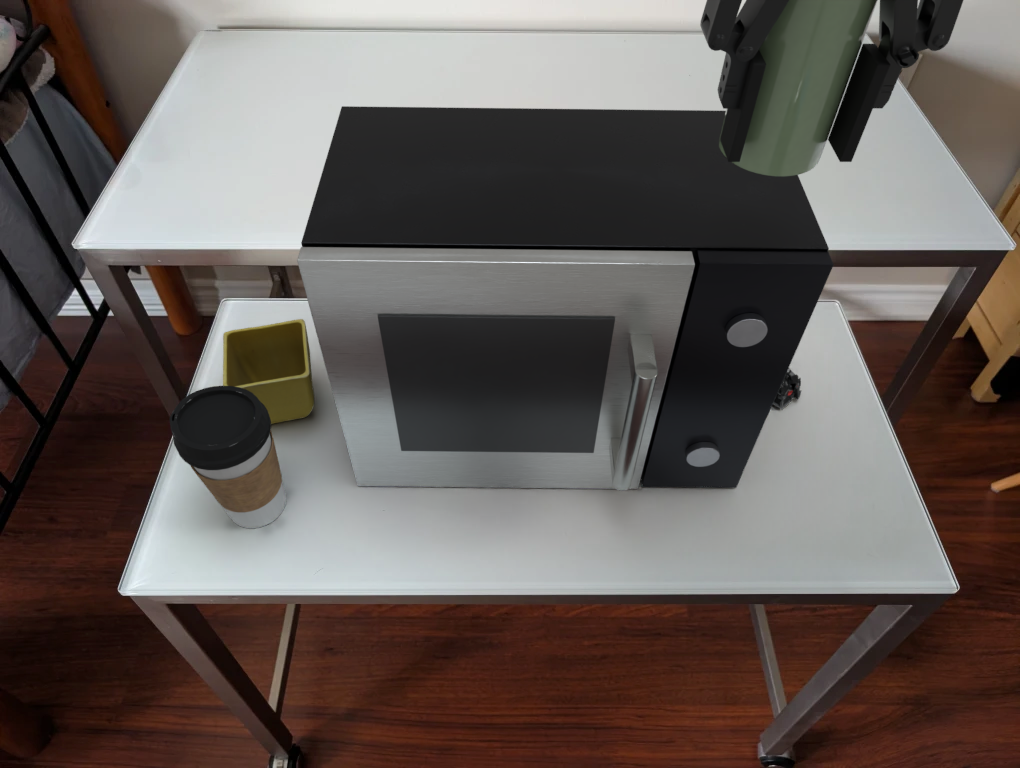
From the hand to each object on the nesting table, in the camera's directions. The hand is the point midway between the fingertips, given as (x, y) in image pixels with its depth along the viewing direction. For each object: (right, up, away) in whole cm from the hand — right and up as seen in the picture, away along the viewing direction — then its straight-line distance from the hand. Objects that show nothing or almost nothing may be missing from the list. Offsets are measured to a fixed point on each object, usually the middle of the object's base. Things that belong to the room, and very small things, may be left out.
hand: (784, 150), depth 50 cm
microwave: (-14, -19, +36) cm, 43 cm away
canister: (0, +1, +3) cm, 3 cm away
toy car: (+13, -14, +40) cm, 45 cm away
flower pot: (-44, -18, +36) cm, 60 cm away
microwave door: (-20, -28, +28) cm, 44 cm away
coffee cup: (-44, -28, +28) cm, 60 cm away
